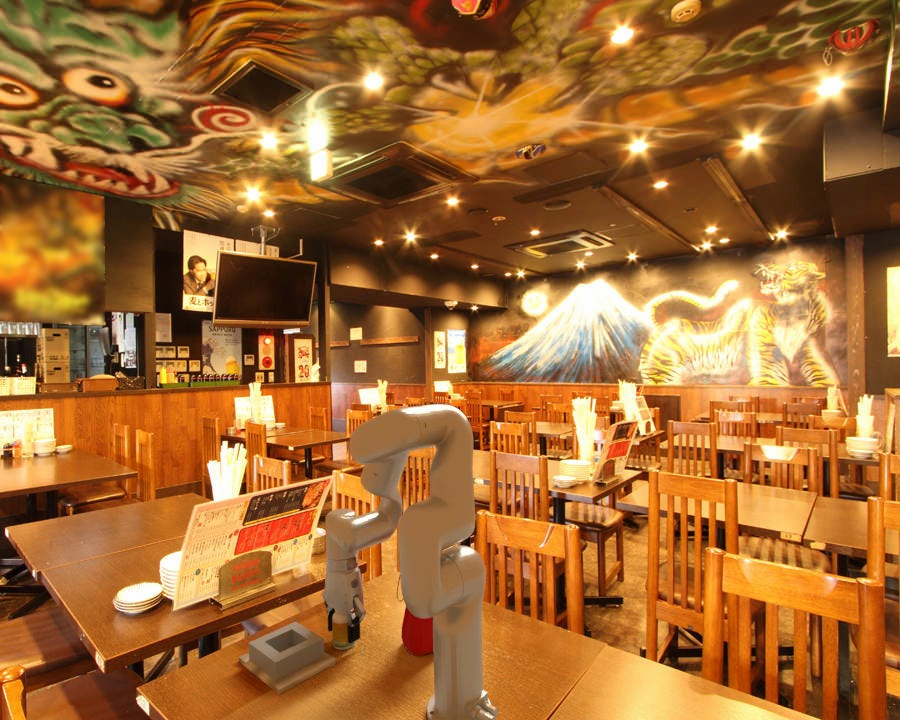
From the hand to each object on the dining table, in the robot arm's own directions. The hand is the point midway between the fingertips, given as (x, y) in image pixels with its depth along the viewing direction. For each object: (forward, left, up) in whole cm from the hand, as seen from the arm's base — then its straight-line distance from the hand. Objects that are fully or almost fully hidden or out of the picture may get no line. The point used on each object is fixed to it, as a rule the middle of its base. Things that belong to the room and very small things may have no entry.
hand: (343, 634), depth 123 cm
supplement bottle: (0, 0, -3) cm, 3 cm away
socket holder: (+4, +13, -2) cm, 14 cm away
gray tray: (+4, +13, -2) cm, 14 cm away
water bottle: (-15, -11, -3) cm, 19 cm away
